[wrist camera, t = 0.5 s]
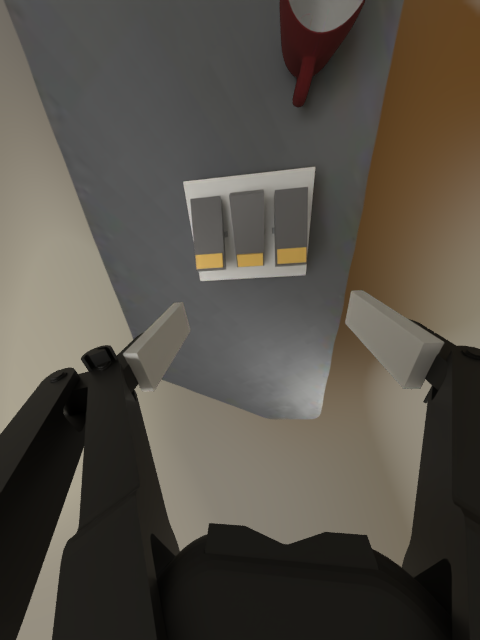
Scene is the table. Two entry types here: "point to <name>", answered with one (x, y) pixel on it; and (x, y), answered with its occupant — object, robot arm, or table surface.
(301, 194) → the rocker
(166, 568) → the robot arm
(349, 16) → the mug
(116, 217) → the table surface
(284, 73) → the table surface
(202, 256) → the rocker
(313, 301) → the table surface
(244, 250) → the rocker
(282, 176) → the switch unit
